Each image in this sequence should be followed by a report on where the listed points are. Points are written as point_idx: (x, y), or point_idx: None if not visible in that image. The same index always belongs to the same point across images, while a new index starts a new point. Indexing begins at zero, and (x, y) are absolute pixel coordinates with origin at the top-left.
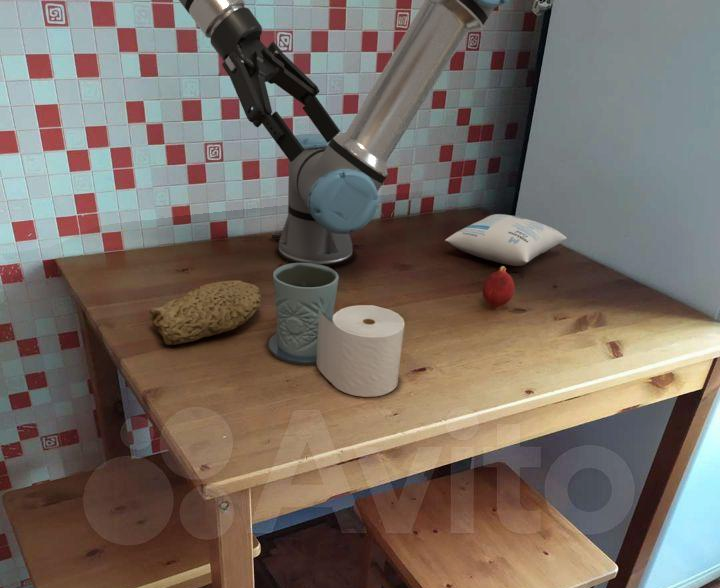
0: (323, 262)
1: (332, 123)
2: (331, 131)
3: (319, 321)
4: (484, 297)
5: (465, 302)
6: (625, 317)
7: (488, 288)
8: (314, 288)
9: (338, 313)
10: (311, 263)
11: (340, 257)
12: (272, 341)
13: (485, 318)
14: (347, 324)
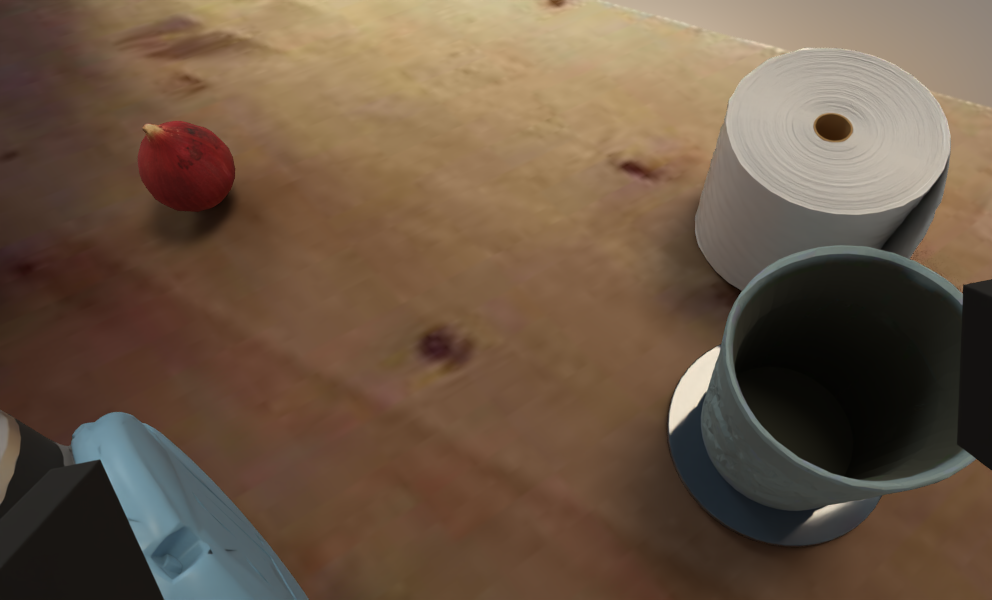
0: None
1: (35, 530)
2: (94, 550)
3: None
4: (219, 200)
5: (219, 264)
6: (115, 6)
7: (216, 170)
8: (922, 265)
9: (875, 204)
10: (748, 415)
11: None
12: (842, 520)
13: (286, 189)
14: (906, 151)
